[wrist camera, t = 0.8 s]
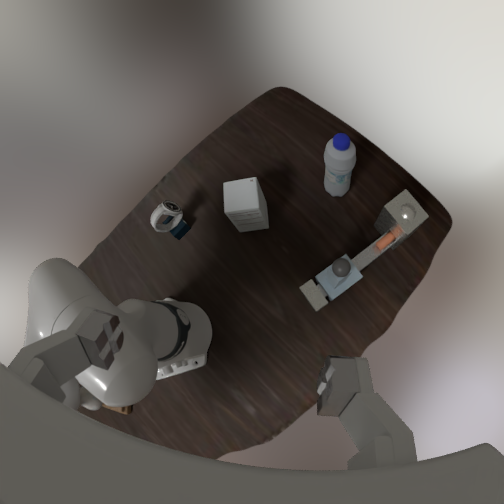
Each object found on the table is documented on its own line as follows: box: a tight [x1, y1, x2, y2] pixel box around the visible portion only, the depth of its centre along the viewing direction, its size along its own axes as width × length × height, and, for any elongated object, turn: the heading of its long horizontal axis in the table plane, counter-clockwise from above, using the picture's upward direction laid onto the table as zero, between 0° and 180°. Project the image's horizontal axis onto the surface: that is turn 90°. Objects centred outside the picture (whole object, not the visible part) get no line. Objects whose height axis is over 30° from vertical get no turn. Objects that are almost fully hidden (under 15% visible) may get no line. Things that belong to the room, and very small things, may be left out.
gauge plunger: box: [376, 231, 396, 250], centre depth 55 cm, size 7×2×2 cm, turn 123°
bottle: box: [324, 133, 356, 197], centre depth 55 cm, size 7×7×20 cm
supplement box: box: [223, 177, 269, 232], centre depth 61 cm, size 7×7×13 cm
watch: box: [150, 200, 191, 240], centre depth 66 cm, size 6×8×11 cm
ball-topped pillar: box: [315, 254, 363, 301], centre depth 50 cm, size 8×6×17 cm
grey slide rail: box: [299, 189, 429, 312], centre depth 54 cm, size 30×8×11 cm, turn 123°
